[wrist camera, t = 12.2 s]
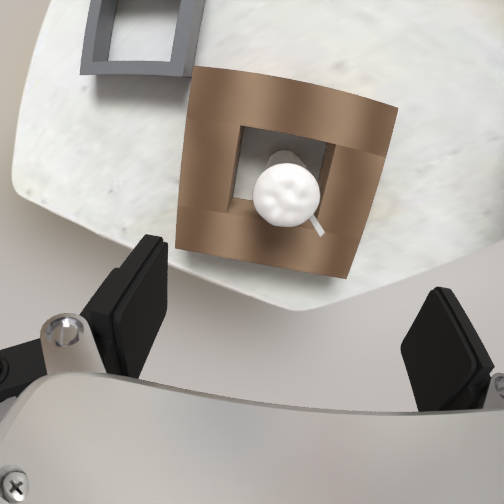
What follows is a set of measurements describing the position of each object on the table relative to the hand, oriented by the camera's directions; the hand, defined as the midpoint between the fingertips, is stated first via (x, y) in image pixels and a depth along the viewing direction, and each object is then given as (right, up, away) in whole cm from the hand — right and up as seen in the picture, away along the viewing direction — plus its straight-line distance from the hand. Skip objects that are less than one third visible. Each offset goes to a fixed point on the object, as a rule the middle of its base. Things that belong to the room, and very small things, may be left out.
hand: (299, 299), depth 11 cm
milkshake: (+2, +9, +18) cm, 21 cm away
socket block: (+1, +9, +18) cm, 20 cm away
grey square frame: (-11, +22, +12) cm, 27 cm away
